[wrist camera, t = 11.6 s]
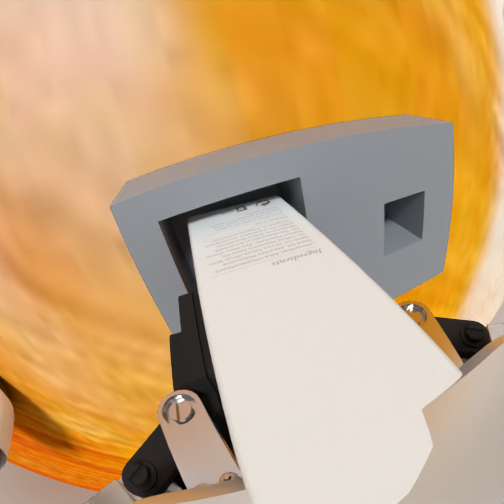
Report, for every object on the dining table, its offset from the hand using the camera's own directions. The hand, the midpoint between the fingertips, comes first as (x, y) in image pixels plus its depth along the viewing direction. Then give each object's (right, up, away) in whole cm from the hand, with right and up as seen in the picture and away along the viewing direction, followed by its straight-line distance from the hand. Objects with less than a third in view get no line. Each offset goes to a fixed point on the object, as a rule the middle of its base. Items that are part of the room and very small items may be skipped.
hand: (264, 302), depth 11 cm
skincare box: (-1, +2, +3) cm, 4 cm away
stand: (+2, +4, +5) cm, 7 cm away
